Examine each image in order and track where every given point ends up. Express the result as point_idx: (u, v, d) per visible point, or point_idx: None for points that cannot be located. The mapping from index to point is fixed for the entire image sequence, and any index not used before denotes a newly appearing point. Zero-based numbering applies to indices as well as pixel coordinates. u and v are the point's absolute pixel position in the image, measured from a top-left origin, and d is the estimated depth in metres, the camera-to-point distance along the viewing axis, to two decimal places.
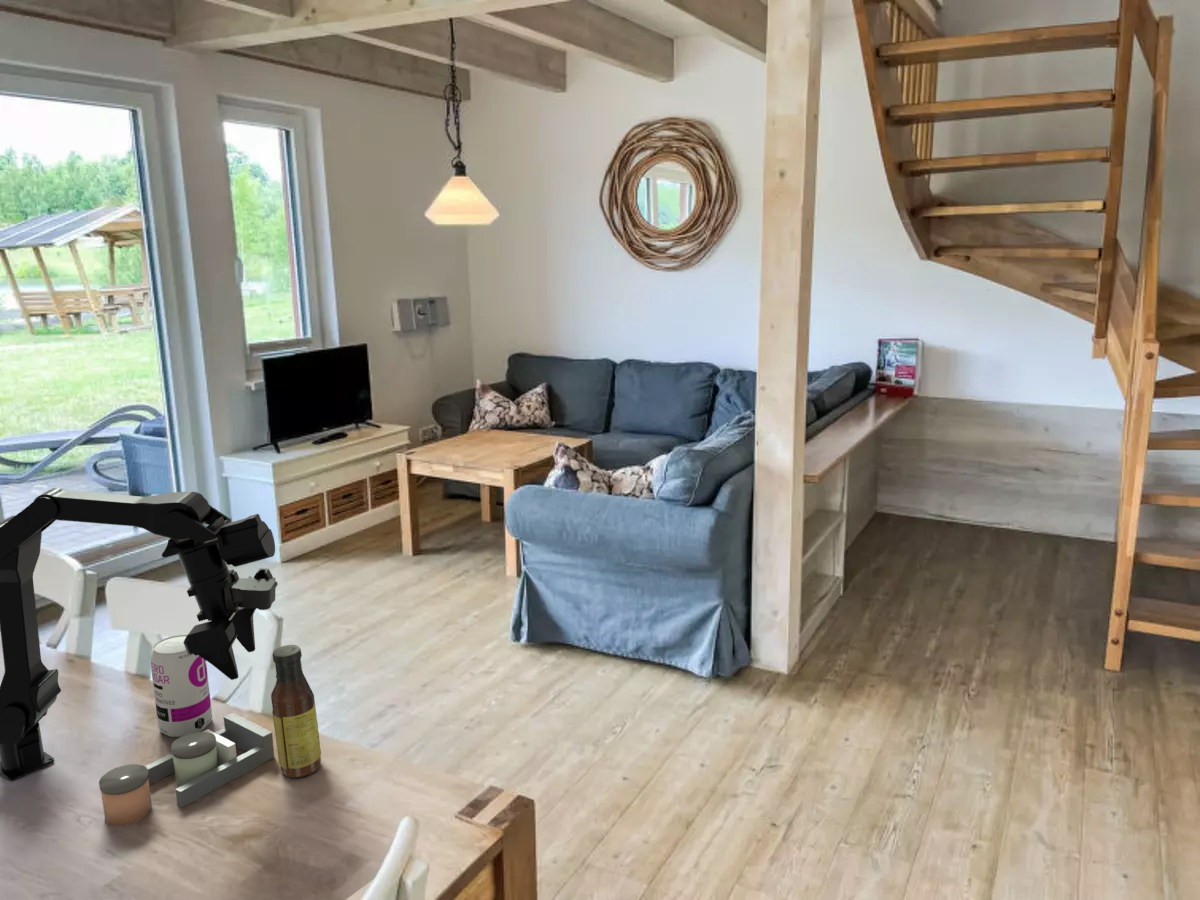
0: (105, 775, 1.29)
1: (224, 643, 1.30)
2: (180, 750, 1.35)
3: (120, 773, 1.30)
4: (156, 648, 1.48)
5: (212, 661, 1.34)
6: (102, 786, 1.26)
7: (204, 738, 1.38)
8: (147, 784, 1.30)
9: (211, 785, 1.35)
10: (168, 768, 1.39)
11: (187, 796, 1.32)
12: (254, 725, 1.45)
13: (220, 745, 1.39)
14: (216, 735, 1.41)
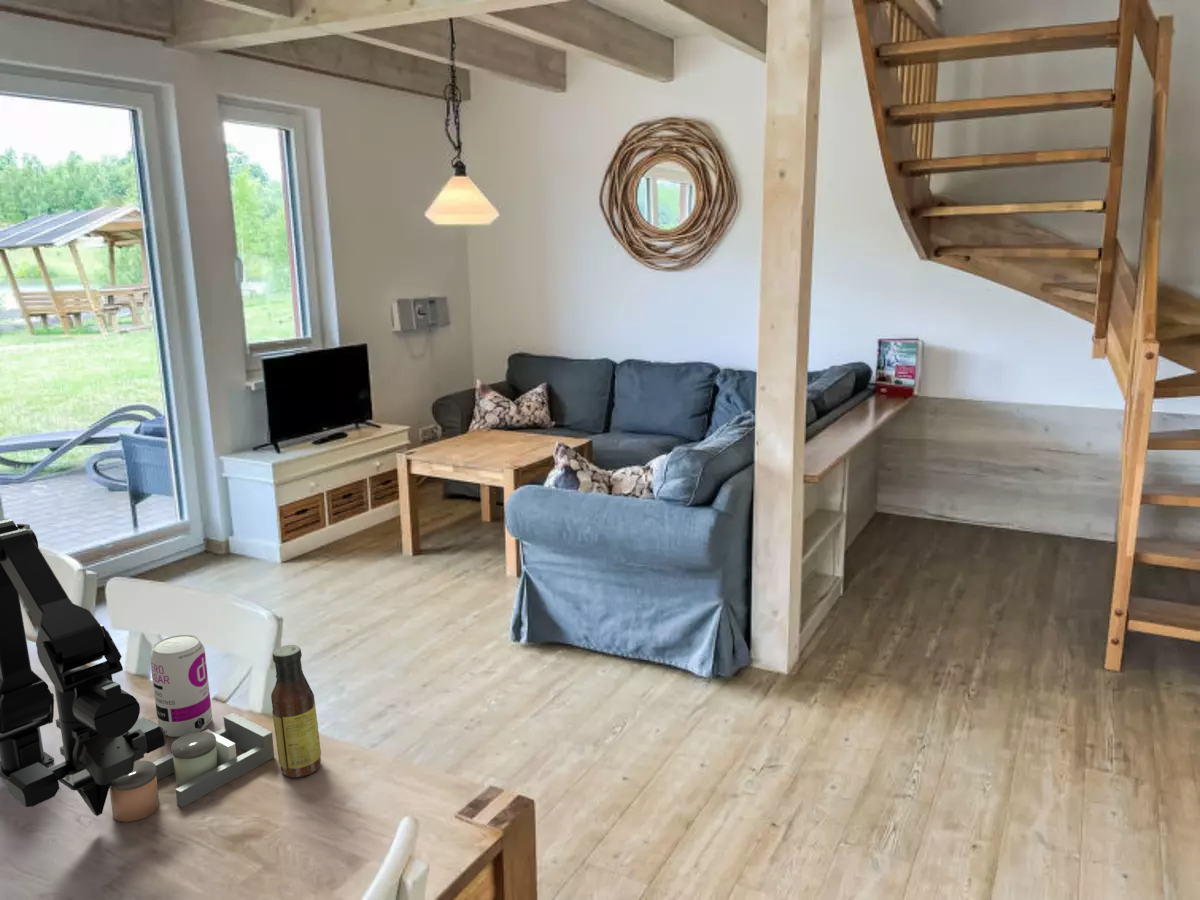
0: None
1: (26, 805, 1.16)
2: (180, 750, 1.35)
3: None
4: (156, 648, 1.48)
5: None
6: None
7: (204, 738, 1.38)
8: (155, 780, 1.30)
9: (211, 785, 1.35)
10: (168, 768, 1.39)
11: (187, 796, 1.32)
12: (254, 725, 1.45)
13: (220, 745, 1.39)
14: (216, 735, 1.41)
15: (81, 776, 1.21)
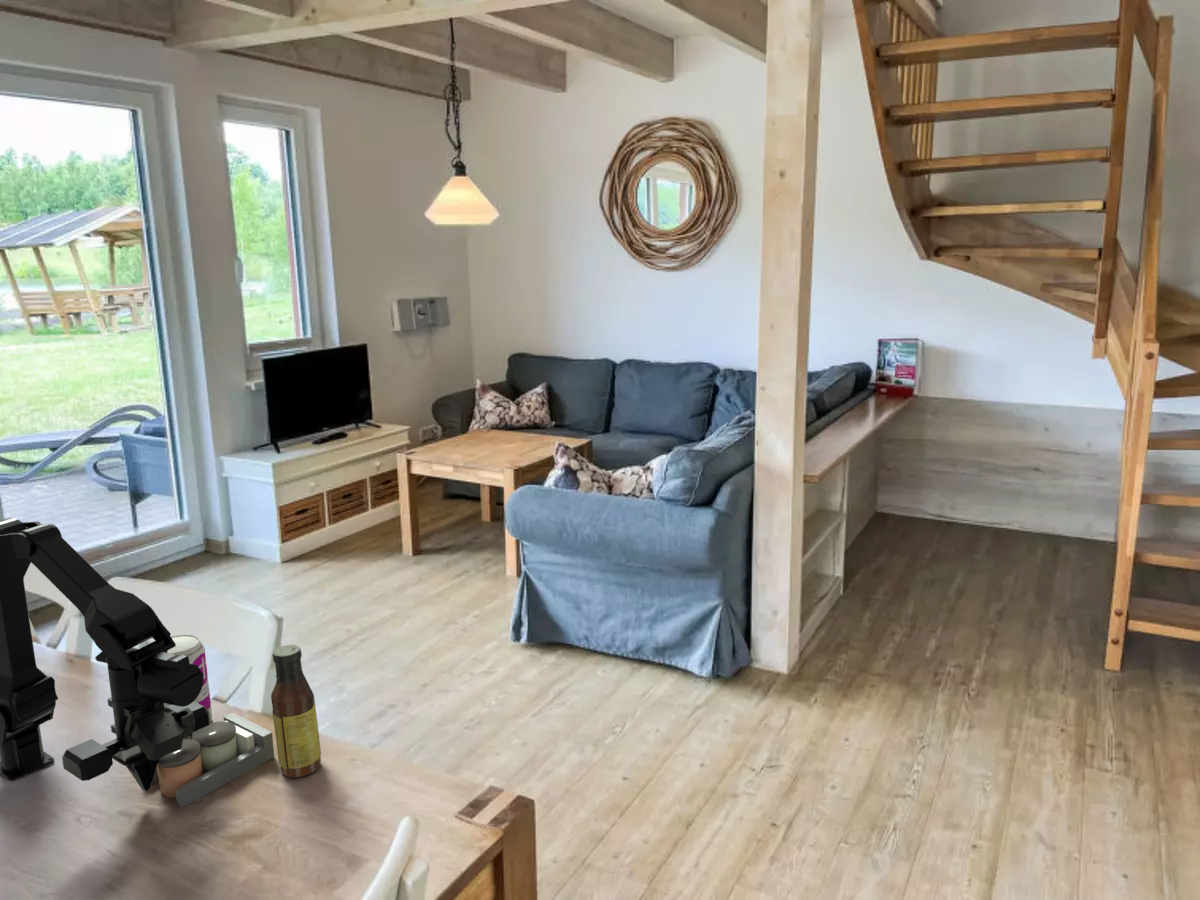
0: None
1: (82, 779, 1.21)
2: (201, 738, 1.38)
3: None
4: None
5: (126, 765, 1.30)
6: None
7: (224, 727, 1.41)
8: (199, 757, 1.36)
9: (211, 785, 1.35)
10: None
11: (187, 796, 1.32)
12: (254, 725, 1.45)
13: (239, 736, 1.42)
14: None
15: (132, 752, 1.27)
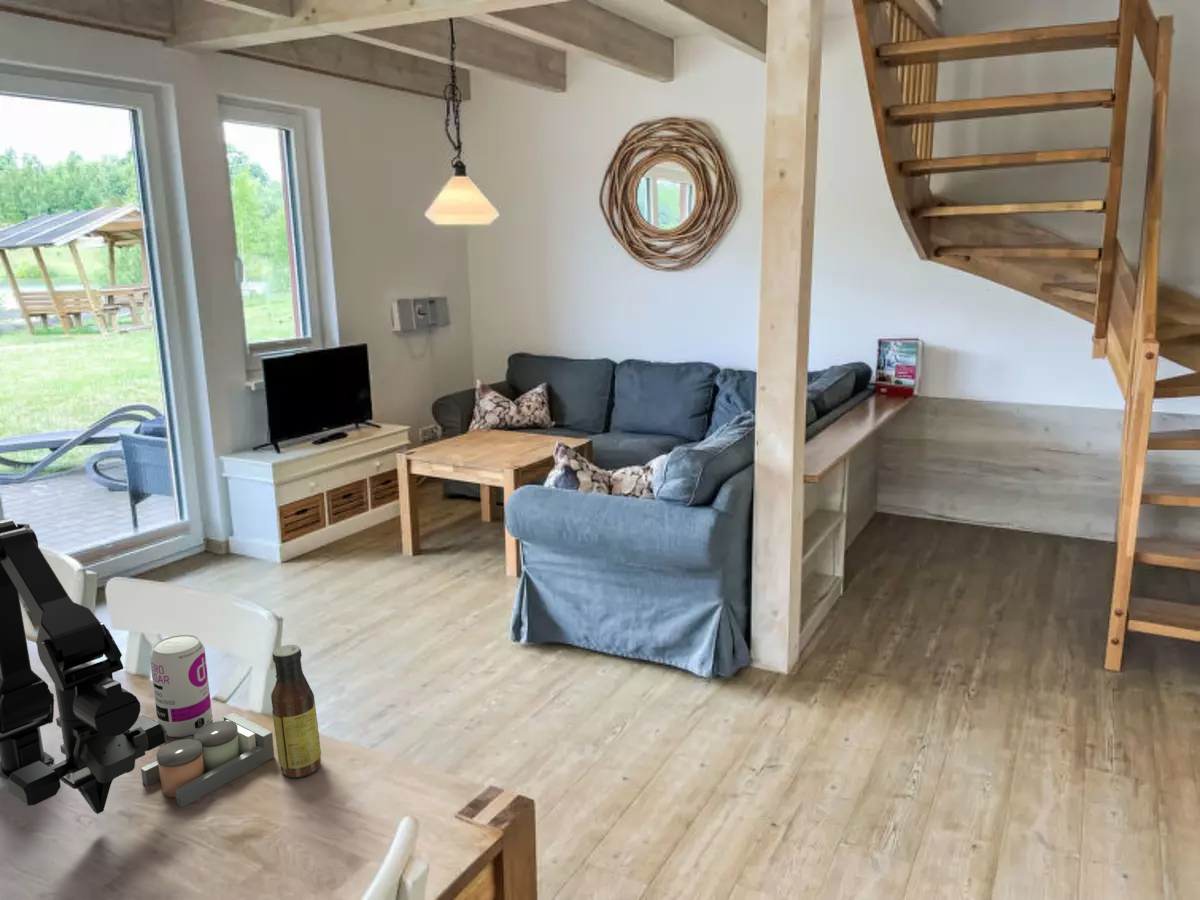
0: (162, 749, 1.35)
1: (27, 804, 1.16)
2: (203, 738, 1.38)
3: (175, 747, 1.36)
4: (156, 648, 1.48)
5: None
6: (160, 759, 1.33)
7: (226, 727, 1.41)
8: (201, 757, 1.36)
9: (211, 785, 1.35)
10: None
11: (187, 796, 1.32)
12: (254, 725, 1.45)
13: (240, 735, 1.42)
14: None
15: (82, 774, 1.22)
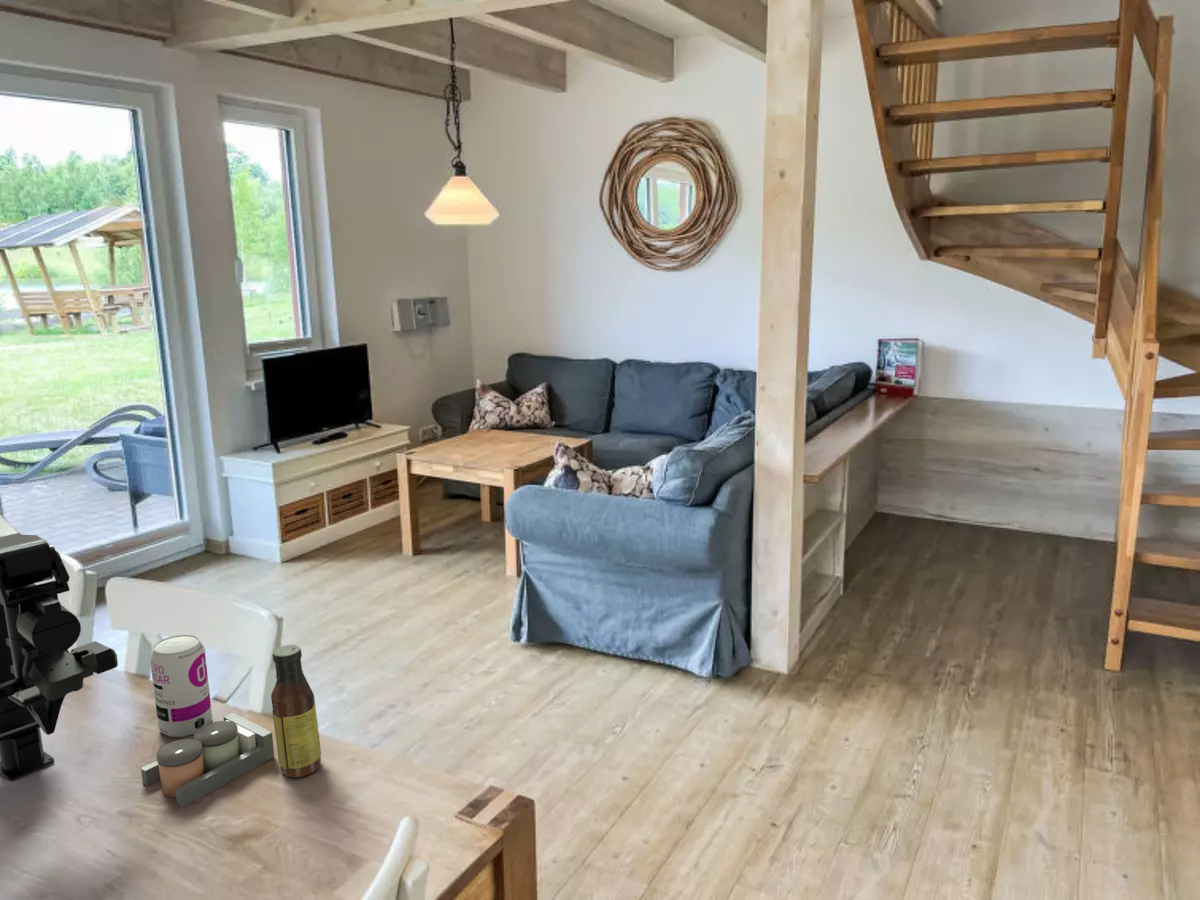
0: (162, 749, 1.35)
1: None
2: (203, 738, 1.38)
3: (175, 747, 1.36)
4: (156, 648, 1.48)
5: (27, 708, 1.27)
6: (160, 759, 1.33)
7: (226, 727, 1.41)
8: (201, 757, 1.36)
9: (211, 785, 1.35)
10: None
11: (187, 796, 1.32)
12: (254, 725, 1.45)
13: (240, 735, 1.42)
14: None
15: (31, 693, 1.23)
